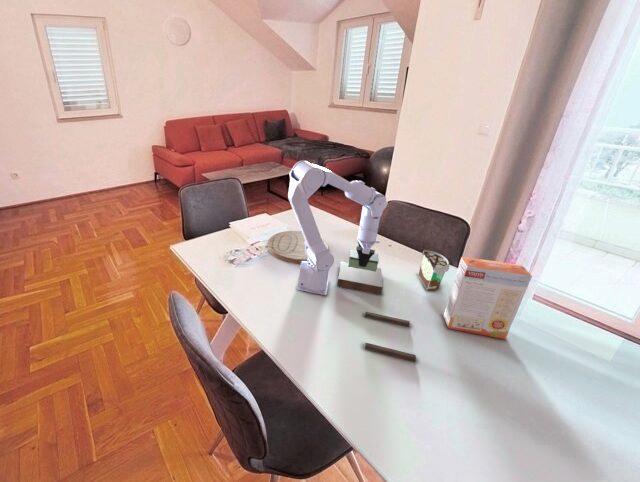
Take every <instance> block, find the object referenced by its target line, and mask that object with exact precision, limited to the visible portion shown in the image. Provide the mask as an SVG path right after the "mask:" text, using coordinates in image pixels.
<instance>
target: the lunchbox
mask: <svg viewBox="0 0 640 482" xmlns="http://www.w3.org/2000/svg"><path fill="white" fill-rule="evenodd" d="M348 254H349V255H348V262H347V263H348V267H353V268H358V269H364V270H369V271H375V272H376V270H377V268H378V266H379V265H378V264H379V253H374V254H373V255H372V256H371V258H370V259H369V261H368V263H367V266H366V267H361V266H359V256H358V253H357V250H354V249H350V250H349V253H348Z"/></svg>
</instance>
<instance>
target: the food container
mask: <svg viewBox="0 0 640 482" xmlns="http://www.w3.org/2000/svg"><path fill="white" fill-rule="evenodd" d="M421 254H422V255H421V261H420V264H419V265H420V266H419V270H418V274H417V275H418V277H419V279H420V281H421V283H422V284H423V286H424V288H425V290H426V291H436V290H438V289H439V287H440V285H441V283H442V280H443V278H444V276H445V273H446V272H448V271H449V270H450V262H449V260H448V258H447V257H446V256H444V255H443V254H440V253H438V252H436V251H433V250H428V249H423V251H422V253H421Z"/></svg>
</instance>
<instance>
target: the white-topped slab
mask: <svg viewBox="0 0 640 482" xmlns="http://www.w3.org/2000/svg"><path fill="white" fill-rule="evenodd" d="M348 263H349V262H348V261H347V262H346V261H342V260H341V261H340V263H339V269H338V270H339V271H338V277H337V287H341V288H345V289H351V290H355V291H360V292H365V293H371V294H376V295H382V291H383V277H382V268H381V267H377V270H376V272H375V271H369V270H364V269H358V268H353V267H348Z"/></svg>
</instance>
